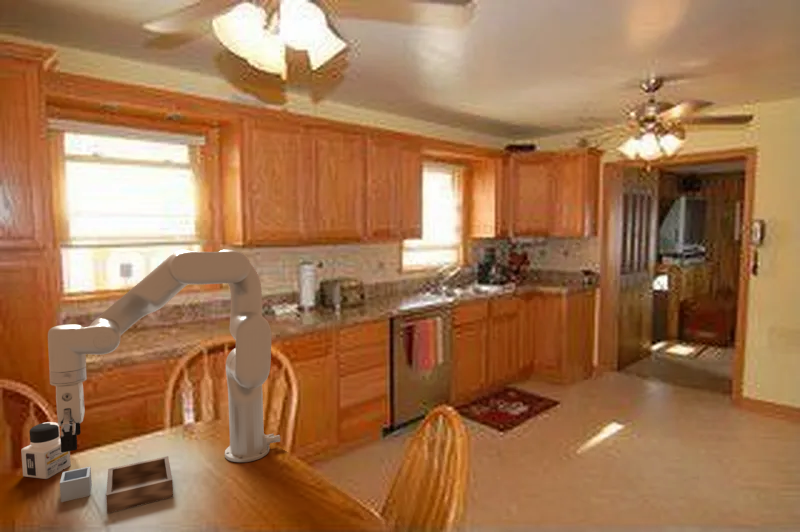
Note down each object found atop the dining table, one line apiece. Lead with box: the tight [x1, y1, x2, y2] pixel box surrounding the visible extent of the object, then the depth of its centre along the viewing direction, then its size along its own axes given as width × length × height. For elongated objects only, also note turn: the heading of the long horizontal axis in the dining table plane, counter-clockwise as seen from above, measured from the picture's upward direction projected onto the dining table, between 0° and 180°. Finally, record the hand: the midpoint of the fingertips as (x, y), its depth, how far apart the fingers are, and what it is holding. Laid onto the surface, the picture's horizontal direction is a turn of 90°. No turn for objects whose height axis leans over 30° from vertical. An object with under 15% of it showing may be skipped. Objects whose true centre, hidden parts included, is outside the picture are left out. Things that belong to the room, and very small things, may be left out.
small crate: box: [59, 465, 93, 503], centre depth 123 cm, size 6×6×5 cm
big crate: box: [105, 455, 174, 514], centre depth 124 cm, size 14×14×4 cm
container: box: [20, 421, 71, 480], centre depth 134 cm, size 8×8×13 cm
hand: (71, 442), depth 122 cm, fingers open, 9 cm apart
